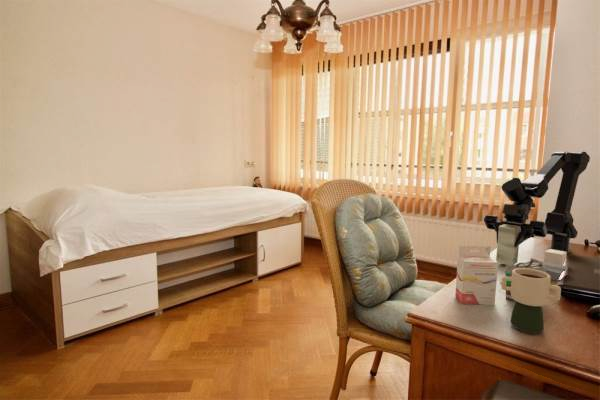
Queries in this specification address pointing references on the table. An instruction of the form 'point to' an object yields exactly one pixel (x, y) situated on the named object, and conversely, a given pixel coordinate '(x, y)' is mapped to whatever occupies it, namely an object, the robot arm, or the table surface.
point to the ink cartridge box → (476, 276)
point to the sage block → (507, 244)
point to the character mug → (529, 297)
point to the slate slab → (554, 270)
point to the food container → (530, 265)
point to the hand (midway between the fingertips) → (506, 244)
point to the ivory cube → (555, 256)
